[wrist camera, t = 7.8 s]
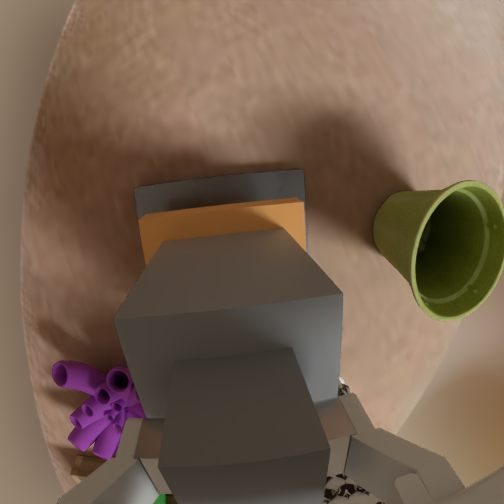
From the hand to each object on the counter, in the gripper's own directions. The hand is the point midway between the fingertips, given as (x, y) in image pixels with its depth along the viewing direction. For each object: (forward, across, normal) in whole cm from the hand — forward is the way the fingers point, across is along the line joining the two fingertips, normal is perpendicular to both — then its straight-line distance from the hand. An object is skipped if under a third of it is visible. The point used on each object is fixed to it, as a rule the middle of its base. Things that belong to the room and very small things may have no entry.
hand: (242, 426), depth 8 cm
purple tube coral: (+17, +11, +14) cm, 25 cm away
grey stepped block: (+10, 0, 0) cm, 10 cm away
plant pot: (+17, -15, -1) cm, 23 cm away
